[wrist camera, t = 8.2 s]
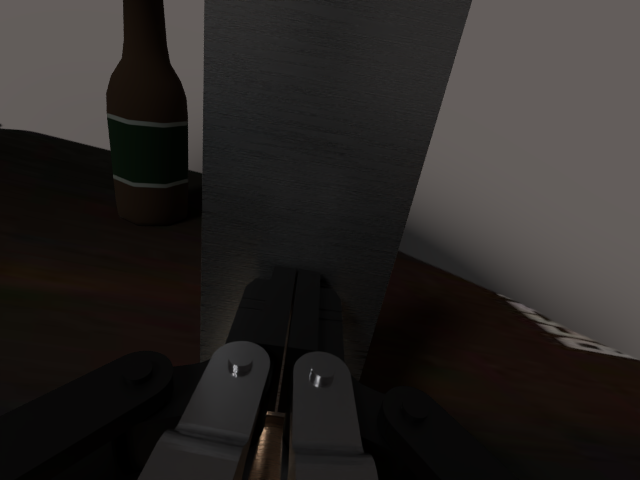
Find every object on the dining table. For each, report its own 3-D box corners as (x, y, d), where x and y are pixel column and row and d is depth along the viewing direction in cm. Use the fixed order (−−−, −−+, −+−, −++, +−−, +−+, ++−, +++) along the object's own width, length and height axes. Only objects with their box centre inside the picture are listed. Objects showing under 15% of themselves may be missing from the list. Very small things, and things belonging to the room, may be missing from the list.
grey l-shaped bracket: (328, 482, 17) (495, -79, 7) (199, 467, 16) (206, -139, 7) (328, 379, 22) (425, -23, 13) (230, 366, 22) (258, -55, 13)
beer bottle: (127, 233, 37) (100, -64, 26) (108, 204, 42) (78, -55, 31) (201, 221, 41) (204, -33, 31) (176, 197, 46) (171, -29, 36)
